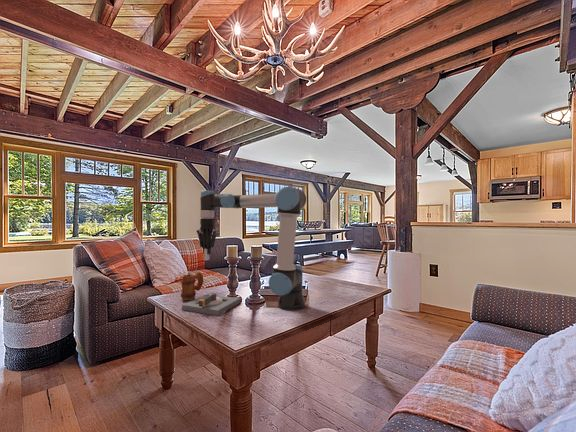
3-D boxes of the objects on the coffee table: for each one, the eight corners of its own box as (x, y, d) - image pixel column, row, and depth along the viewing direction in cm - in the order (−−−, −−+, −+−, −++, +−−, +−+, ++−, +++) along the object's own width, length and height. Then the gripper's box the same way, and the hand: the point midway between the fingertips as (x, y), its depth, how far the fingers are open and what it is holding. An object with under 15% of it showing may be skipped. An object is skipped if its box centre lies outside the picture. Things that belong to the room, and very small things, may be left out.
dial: (208, 299, 165) (208, 290, 165) (225, 301, 163) (226, 292, 163) (191, 309, 148) (191, 299, 148) (210, 311, 146) (210, 301, 146)
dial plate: (239, 302, 165) (240, 297, 165) (217, 315, 144) (217, 309, 144) (207, 298, 173) (207, 293, 173) (181, 309, 152) (182, 304, 152)
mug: (185, 302, 164) (185, 276, 163) (176, 300, 168) (177, 274, 168) (206, 297, 175) (206, 272, 175) (198, 294, 180) (198, 270, 180)
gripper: (221, 218, 164) (220, 259, 164) (201, 217, 169) (201, 258, 169) (213, 218, 157) (212, 261, 157) (193, 217, 162) (192, 260, 162)
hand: (206, 259), depth 163 cm, fingers closed
